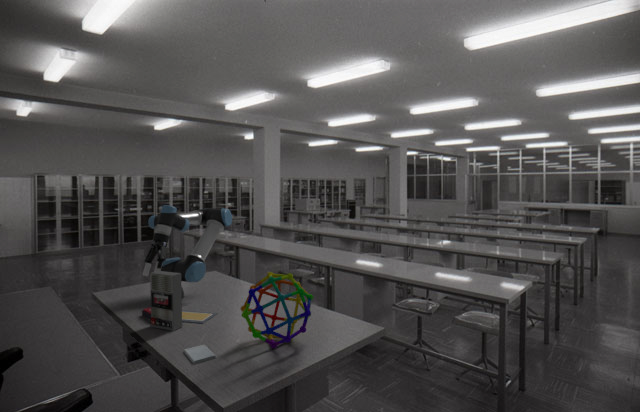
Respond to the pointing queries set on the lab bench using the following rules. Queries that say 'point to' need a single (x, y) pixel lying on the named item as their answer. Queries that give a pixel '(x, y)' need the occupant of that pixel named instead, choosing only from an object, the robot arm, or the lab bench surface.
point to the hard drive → (199, 354)
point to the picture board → (196, 316)
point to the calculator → (147, 313)
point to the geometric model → (289, 320)
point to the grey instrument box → (166, 300)
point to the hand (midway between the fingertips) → (150, 275)
